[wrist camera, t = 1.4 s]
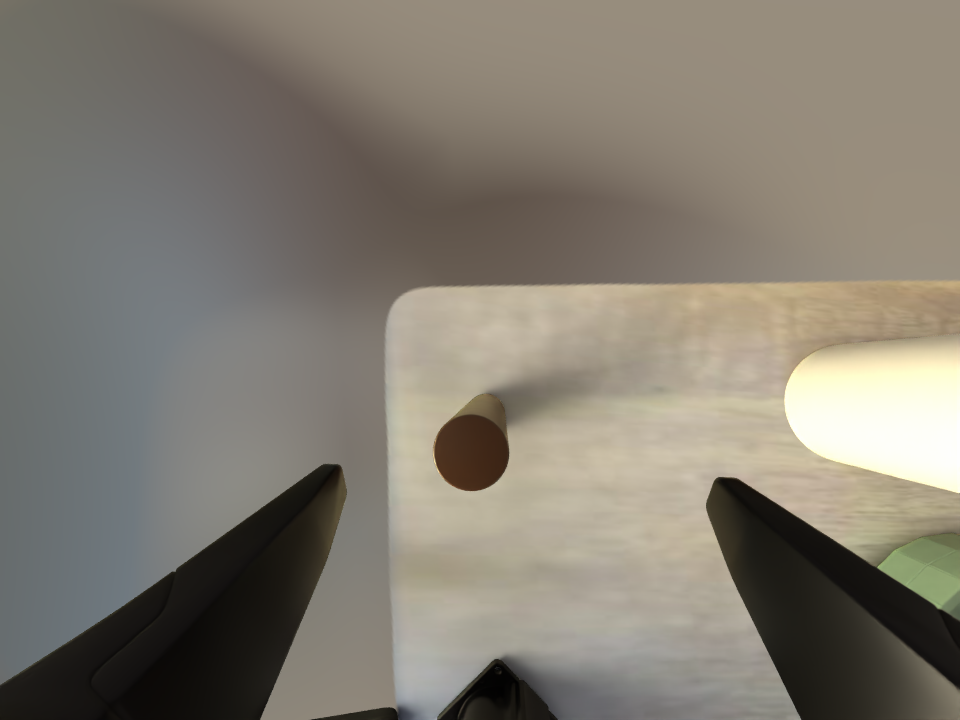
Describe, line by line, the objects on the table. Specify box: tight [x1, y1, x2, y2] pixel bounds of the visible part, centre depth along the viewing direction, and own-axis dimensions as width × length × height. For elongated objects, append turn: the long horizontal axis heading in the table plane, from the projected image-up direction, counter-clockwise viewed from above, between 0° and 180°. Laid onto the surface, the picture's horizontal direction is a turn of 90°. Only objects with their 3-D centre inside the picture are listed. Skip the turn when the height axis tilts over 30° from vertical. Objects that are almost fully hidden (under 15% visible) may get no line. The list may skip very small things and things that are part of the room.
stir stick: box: [433, 394, 509, 491], centre depth 21 cm, size 3×3×14 cm
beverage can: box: [785, 334, 960, 493], centre depth 20 cm, size 8×8×12 cm
